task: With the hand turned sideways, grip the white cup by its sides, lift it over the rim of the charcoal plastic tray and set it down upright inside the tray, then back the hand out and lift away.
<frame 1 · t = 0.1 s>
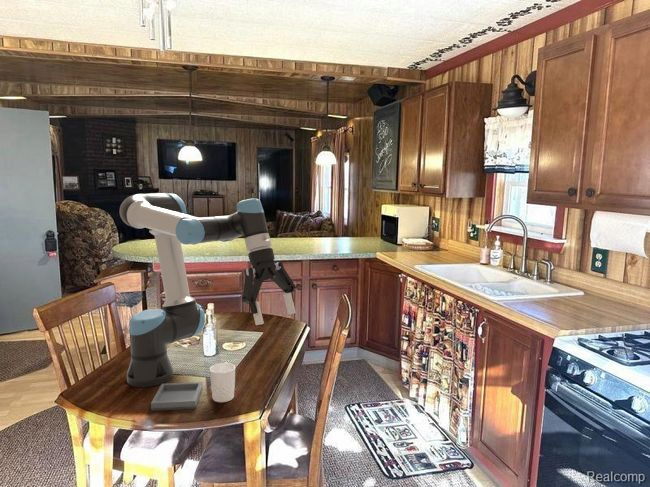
hand: (276, 319, 135), 28 cm above the table, tool tilted 20°, fingers open, 13 cm apart
charcoal tray: (178, 399, 142), on the table
white cup: (223, 398, 144), on the table
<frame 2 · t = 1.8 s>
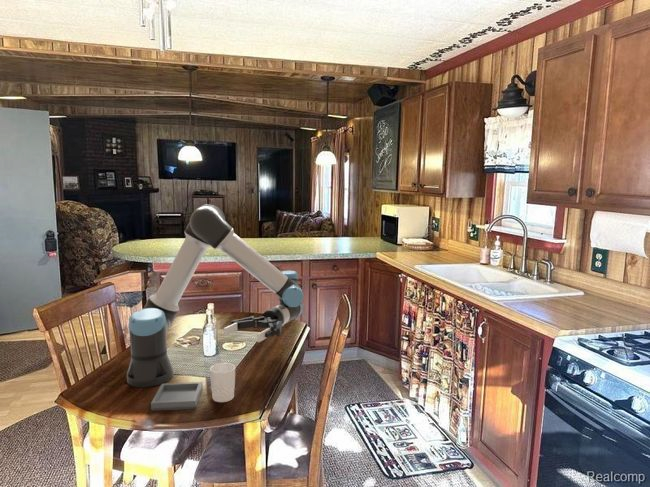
hand: (241, 335, 150), 18 cm above the table, tool horizontal, fingers open, 13 cm apart
nothing on the table moved.
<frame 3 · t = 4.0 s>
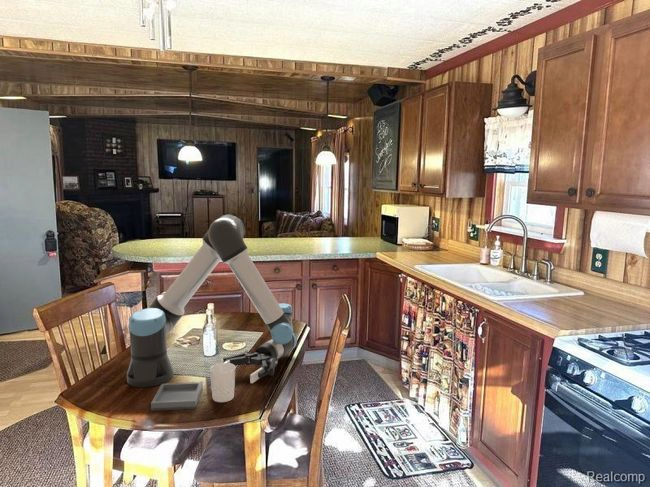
hand: (233, 375, 147), 6 cm above the table, tool horizontal, fingers open, 13 cm apart
nothing on the table moved.
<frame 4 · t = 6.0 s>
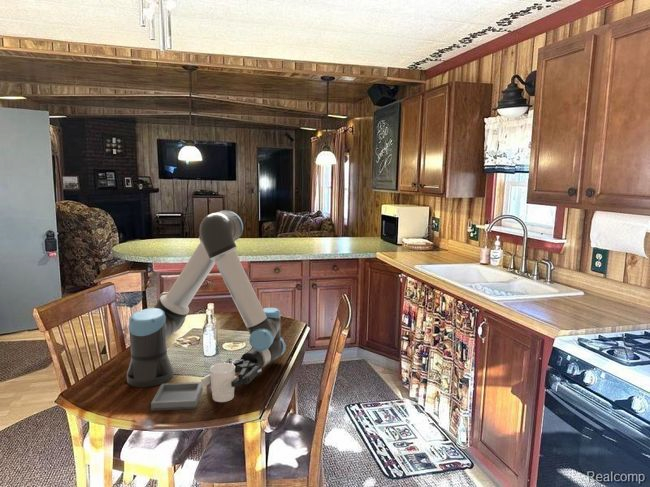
hand: (212, 385, 139), 6 cm above the table, tool horizontal, fingers closed on white cup, 7 cm apart
white cup: (223, 398, 144), on the table, touching gripper
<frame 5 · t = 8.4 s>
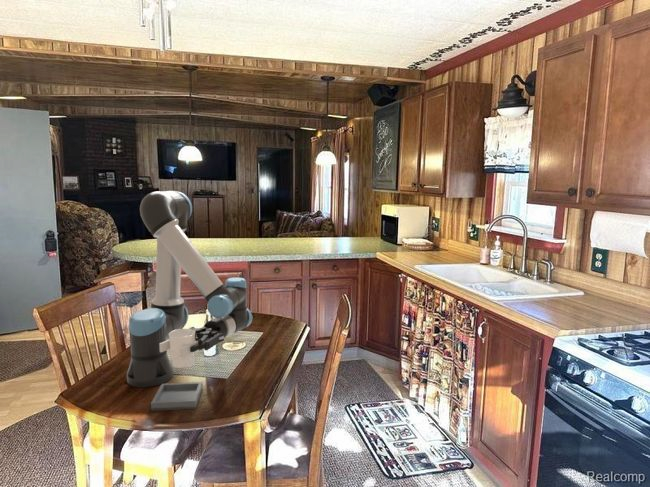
hand: (170, 350, 136), 18 cm above the table, tool horizontal, fingers closed on white cup, 7 cm apart
white cup: (182, 364, 141), point 12 cm above the table, touching gripper
when the fingers open (8 cm above the table, at t = 10.8 s): white cup drops 2 cm, resting on charcoal tray.
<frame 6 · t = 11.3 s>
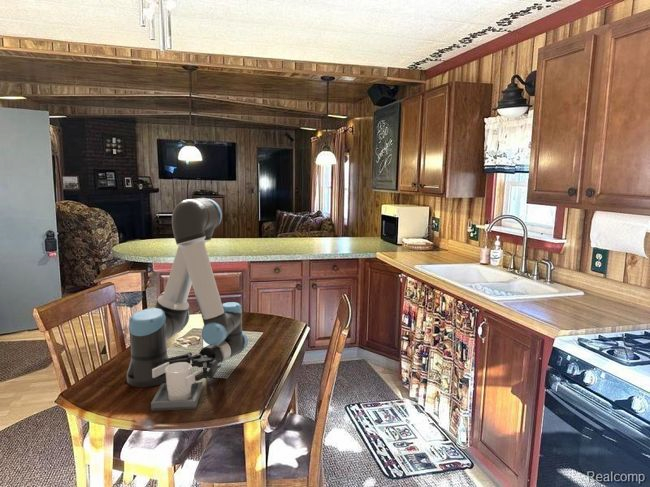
hand: (169, 378, 138), 8 cm above the table, tool horizontal, fingers open, 13 cm apart
white cup: (179, 398, 142), point 1 cm above the table, touching charcoal tray
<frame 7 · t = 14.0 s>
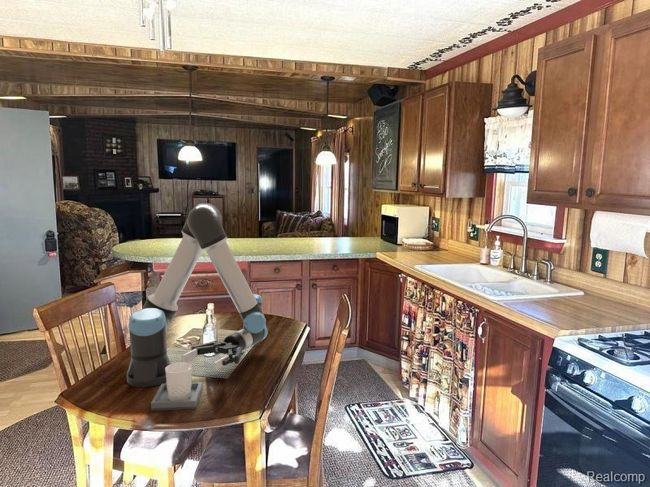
hand: (198, 362, 150), 9 cm above the table, tool horizontal, fingers open, 13 cm apart
nothing on the table moved.
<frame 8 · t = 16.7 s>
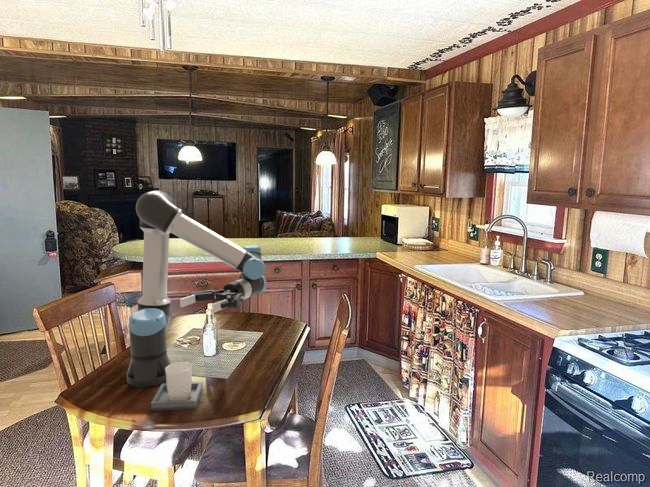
hand: (196, 305, 147), 28 cm above the table, tool horizontal, fingers open, 13 cm apart
nothing on the table moved.
at the end: white cup inside the target area on the charcoal tray (0.7 cm from its centre), point 0.6 cm above the charcoal tray's base; white cup tilted 0°; the gripper is holding nothing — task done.
